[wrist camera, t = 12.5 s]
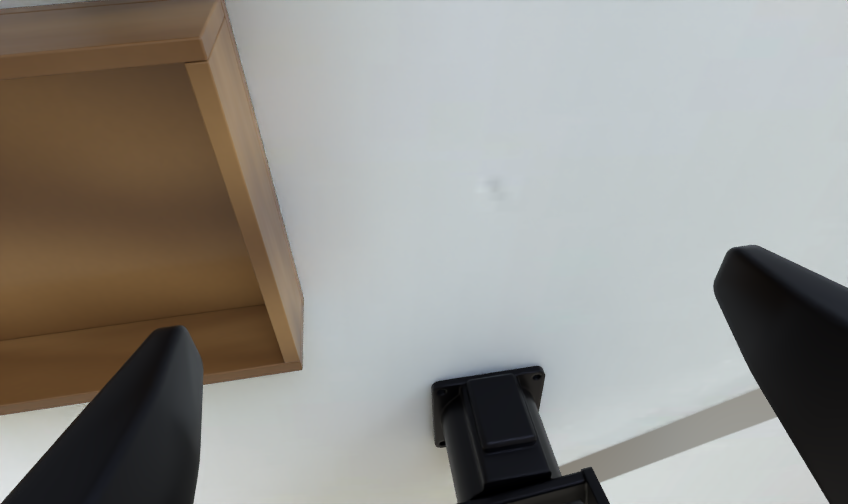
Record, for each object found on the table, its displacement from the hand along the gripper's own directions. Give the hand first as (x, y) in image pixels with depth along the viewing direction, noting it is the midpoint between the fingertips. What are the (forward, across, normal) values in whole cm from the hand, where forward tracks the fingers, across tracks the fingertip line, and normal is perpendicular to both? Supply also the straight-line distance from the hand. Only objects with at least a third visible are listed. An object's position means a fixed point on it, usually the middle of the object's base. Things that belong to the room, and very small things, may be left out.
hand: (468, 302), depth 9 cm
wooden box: (+12, +13, +4) cm, 18 cm away
